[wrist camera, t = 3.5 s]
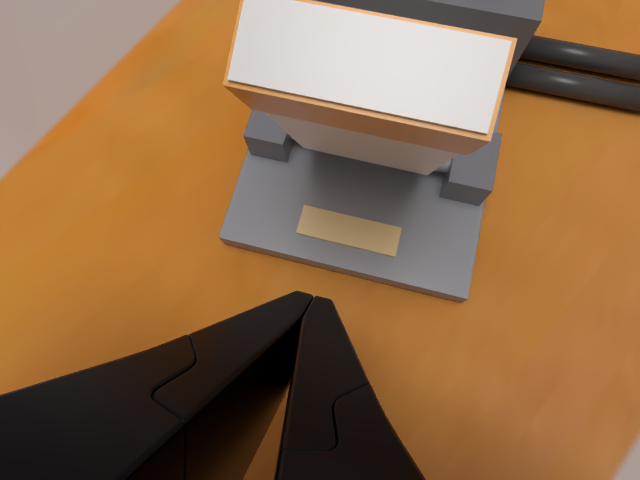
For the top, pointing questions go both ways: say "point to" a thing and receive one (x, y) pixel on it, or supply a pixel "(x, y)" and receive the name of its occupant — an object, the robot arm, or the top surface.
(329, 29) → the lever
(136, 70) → the top surface
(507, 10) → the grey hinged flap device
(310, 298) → the robot arm
